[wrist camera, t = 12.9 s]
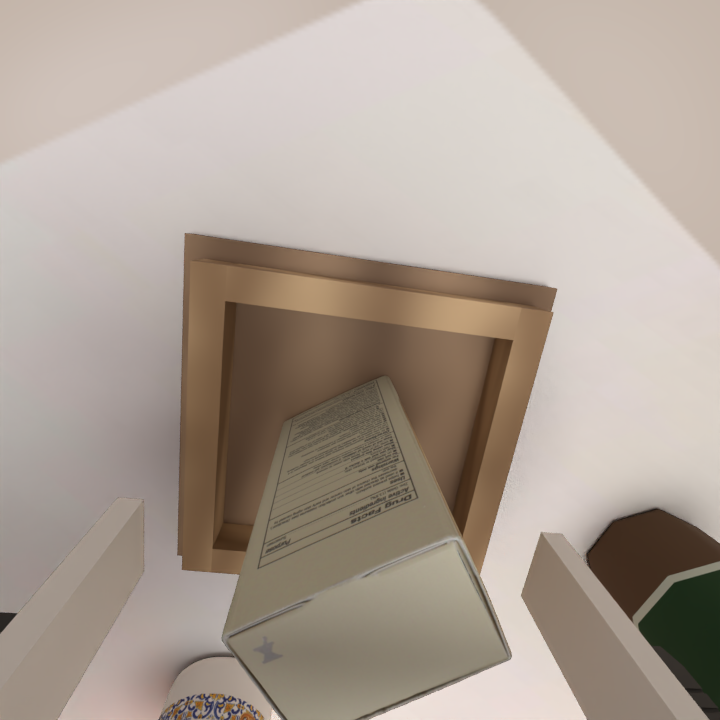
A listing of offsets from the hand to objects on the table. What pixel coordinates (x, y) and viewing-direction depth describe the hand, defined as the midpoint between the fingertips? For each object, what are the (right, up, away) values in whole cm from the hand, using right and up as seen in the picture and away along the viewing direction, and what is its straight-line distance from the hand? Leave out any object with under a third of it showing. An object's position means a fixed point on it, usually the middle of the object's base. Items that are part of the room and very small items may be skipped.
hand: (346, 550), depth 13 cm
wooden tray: (0, +3, +9) cm, 10 cm away
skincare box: (0, +3, +8) cm, 9 cm away
